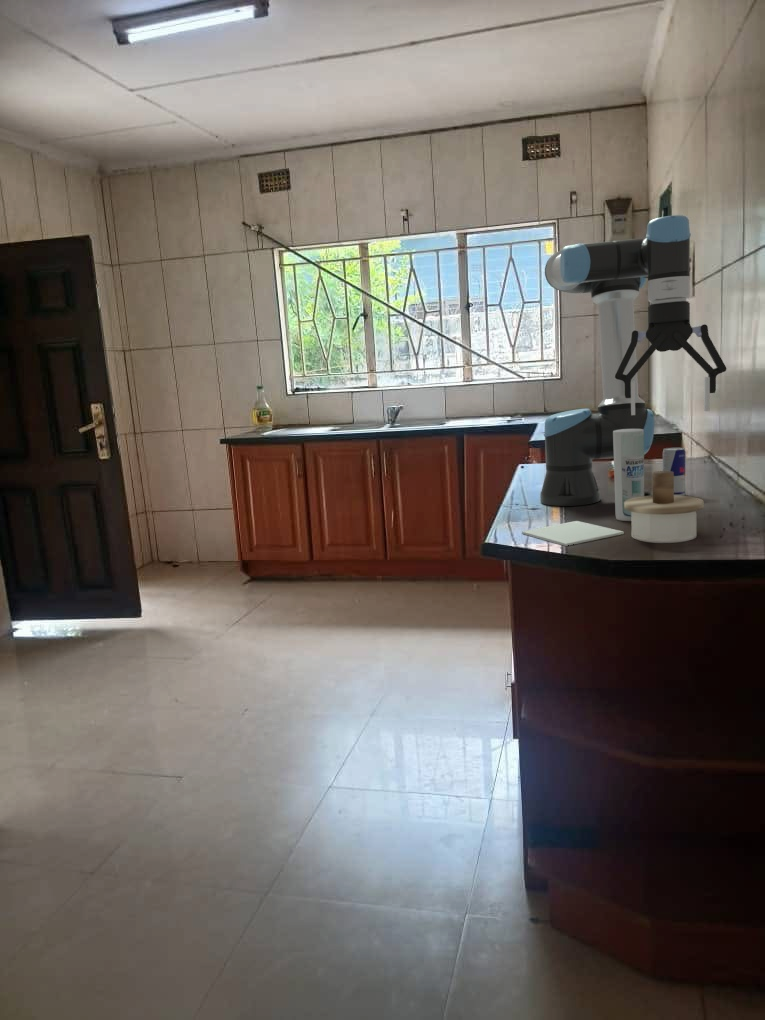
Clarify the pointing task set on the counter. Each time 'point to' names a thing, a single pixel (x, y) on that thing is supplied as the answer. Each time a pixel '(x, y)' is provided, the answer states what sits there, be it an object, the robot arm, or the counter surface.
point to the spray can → (628, 468)
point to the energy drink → (675, 467)
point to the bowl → (663, 527)
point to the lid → (663, 498)
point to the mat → (572, 533)
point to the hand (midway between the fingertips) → (669, 412)
